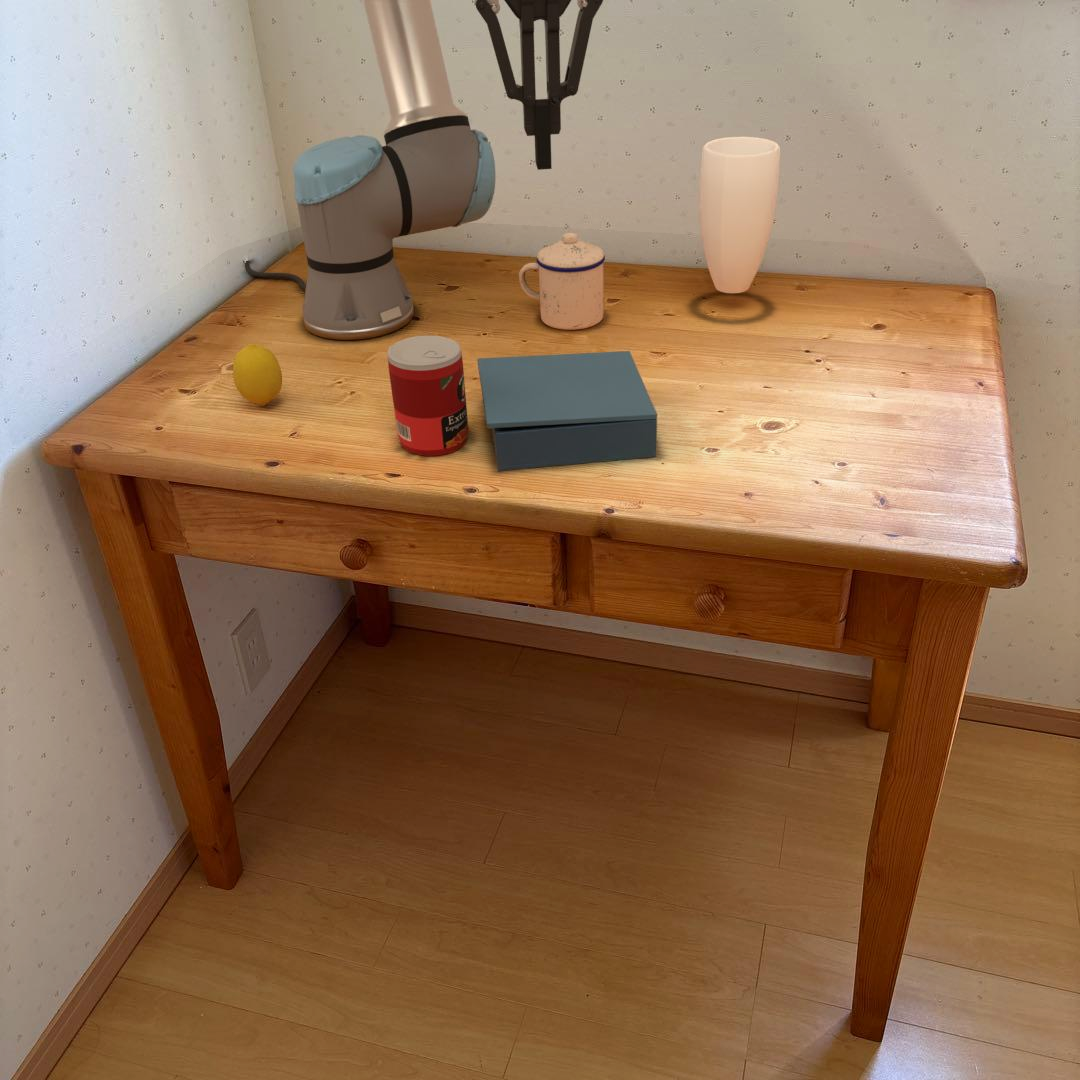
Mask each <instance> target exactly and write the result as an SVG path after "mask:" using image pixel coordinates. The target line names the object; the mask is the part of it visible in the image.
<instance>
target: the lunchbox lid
mask: <svg viewBox="0 0 1080 1080" xmlns="http://www.w3.org/2000/svg"><path fill="white" fill-rule="evenodd" d="M477 368H478V376H479V381H480V389H481V396H482V402H483V409H484V415H485V423H486V428H487V429H492V428H502V427H520V426H538V425H556V424H574V423H592V422H610V421H628V420H646V419H657V420H658V413H657V411H656V408H655V406H654V404H653V401H652V399H651V396H650V395H649V392H648V390H647V388H646V385H645V383H644V381H643V378H642V376H641V374H640V371H639V369H638V366H637V365H636V363H635V360H634V358H633V355H632V354H631V351H630V350H622V351H621V350H620V351H618V350H617V351H601V352H599V351H598V352H580V353H579V352H578V353H561V354H560V353H559V354H541V355H539V354H538V355H519V356H499V357H497V356H496V357H478V358H477Z"/></svg>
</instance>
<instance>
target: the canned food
mask: <svg viewBox="0 0 1080 1080" xmlns="http://www.w3.org/2000/svg"><path fill="white" fill-rule="evenodd" d="M387 364H388V365H387V367H388V374H389V383H390V388H391V397H392V403H393V411H394V418H395V419H394V420H395V426H396V432H397V433H396V434H397V439H398V441H399V442H400V445H401V447H402V448H403V449H404V450H405V451H407V452H409V453H411V454H414V455H418V456H424V457H436V456H437V457H438V456H444V455H448V454H451V453H454V452H455V451H458V450H459V449H461V448H462V447H463V446H464V445H465V444H466V442H467V440H468V436H469V423H468V421H469V420H468V409H467V399H466V398H467V397H466V384H465V374H464V373H465V372H464V360H463V351H462V347H461V345H460V344H459V343H458V341H456V340H454V339H452V338H449V337H447V336H441V335H431V334H428V335H418V336H417V335H415V336H410V337H407V338H404V339H401V340H399V341H396V342H394V343H393V344H392V345H390V346H389V347H388V348H387Z"/></svg>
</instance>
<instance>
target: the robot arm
mask: <svg viewBox="0 0 1080 1080" xmlns="http://www.w3.org/2000/svg"><path fill="white" fill-rule="evenodd" d="M503 1H504V2H505V3H506V5H507V6H508V8H509V9H510V10H511V12H512V14H513V15H514V16H515V17H516V18H517V19H518V21H519V22H518V23H519V35H520V36H519V38H520V39H519V41H520V42H519V43H520V44H519V45H520V67H521V68H520V69H521V70H520V71H521V72H520V73H521V84H517V81H516V78H515V75H514V71H513V69H512V64H511V60H510V57H509V53H508V49H507V46H506V42H505V38H504V35H503V32H502V31H503V30H502V27H501V24H500V20H499V18H498V15H497V14H499V12H500V10H501V5H500V3H499V2H500V0H474V5H475V8H476V10H477V12H478V13H479V15H480V16H481V18H482V19H483V21H484V22H485V24H486V25H487V29H488V33H489V35H490V36H489V38H490V40H491V44H492V48H493V51H494V54H495V58H496V62H497V65H498V69H499V72H500V76H501V80H502V83H503V86H504V91H505V94H506V96H507V98H508V99H509V100H515V101H518V102H521V104H522V111H523V113H522V114H523V129H524V132H525V135H526V136H527V137H534V160H535V165H536V168H537V170H538V171H541V170H552V135H560V133H561V131H562V119H561V118H562V117H561V116H562V115H561V114H562V113H561V111H562V110H561V104H562V102H563V100H565V99H566V98H568V97H570V96H571V97H574V96H575V95H577V93H578V91H579V88H580V87H579V86H580V83H581V78H582V77H581V76H582V73H583V68H584V63H585V58H586V54H587V49H588V46H589V45H588V44H589V40H590V36H591V30H592V26H593V21H594V19H595V16H596V14H598V11H599V9H600V8H601V6H602V4H603V2H604V0H576V5H577V7H578V8H579V10H578V14H577V17H576V22H575V27H574V31H573V37H572V42H571V47H570V50H569V51H570V52H569V57H568V62H567V66H566V71H565V75H564V81H562V82H561V48H560V47H561V46H560V45H561V43H560V42H561V41H560V30H561V28H560V27H561V25H560V23H561V21H560V18H562V16H563V15H564V13H565V12H566V10H567V9H568V7H569V6H570V4H571V2H572V0H503ZM362 2H363V3H362V4H363V6H364V7H363V8H364V11H365V15H366V19H367V24H368V27H369V31H370V35H371V40H372V44H373V48H374V52H375V56H376V61H377V65H378V69H379V73H380V78H381V82H382V87H383V91H384V94H385V99H386V103H387V106H388V110H389V114H390V120H389V122H388V124H387V126H386V128H385V129H384V131H383V138H384V142H385V145H384V146H382V144H381V142H380V141H379V140H378V139H377V137H374V136H371V135H354V136H351V137H350V136H343V137H337V138H334V139H329V140H325V141H324V142H320V143H318V144H315V145H314V146H311V147H309V148H308V149H306V150H304V151H303V152H302V153H300V154H299V156H297V158H296V160H295V161H294V163H293V167H292V175H293V186H294V200H295V202H296V203H297V211H298V216H299V221H300V227H301V233H302V240H303V245H304V250H305V255H306V260H307V268H308V271H307V272H308V273H307V279H306V283H305V282H304V281H303V279H302V278H301V277H300V276H298V275H296V274H293V273H287V272H263V271H262V272H261V271H256V270H254V269H252V268H251V265H250V260H249V261H246V263H245V266H244V269H245V271H246V272H247V273H248V274H249V275H250V276H252V277H256V278H263V279H264V278H265V279H288V280H292V281H294V282H296V283H297V284H298V285H299V287H300V289H302V290H303V291H304V302H303V305H302V316H303V317H302V318H303V324H304V327H305V329H306V330H307V331H308V332H309V333H311V334H313V335H315V336H318V337H321V338H324V339H330V340H338V341H339V340H340V341H353V340H354V341H355V340H365V339H371V338H377V337H381V336H384V335H388V334H390V333H394V332H395V331H398V330H400V329H402V328H403V327H405V326H407V325H408V324H409V323H410V322H411V321H412V320H413V318H414V316H415V309H414V302H413V298H412V296H411V292H410V291H409V288H408V287H407V284H406V281H405V280H404V278H403V276H402V274H401V272H400V269H399V267H398V265H397V263H396V259H395V255H394V246H393V245H394V243H393V239H396V238H400V237H406V236H411V235H415V234H416V235H417V234H421V233H426V232H431V231H435V230H440V229H446V228H451V227H452V228H458V227H459V226H461V225H464V224H468V223H473V222H475V221H479V220H481V219H482V218H483V217H484V216H485V215H486V214H487V213H488V211H489V210H490V208H491V206H492V203H493V199H494V195H495V189H496V177H497V176H496V162H495V156H494V151H493V148H492V145H491V143H490V142H489V141H488V137H487V135H486V134H485V133H484V132H483V131H481V130H478V129H471V125H470V124H471V123H470V121H469V116H468V114H467V113H466V112H464V111H463V110H462V109H460V108H459V107H457V106H456V105H455V103H454V100H453V95H452V92H451V87H450V82H449V78H448V74H447V68H446V64H445V60H444V55H443V51H442V47H441V43H440V38H439V34H438V30H437V25H436V20H435V17H434V13H433V12H434V11H433V8H432V7H433V6H432V3H431V0H362ZM539 20H542V21H544V23H543V24H544V41H545V42H544V44H545V72H546V73H545V74H546V78H545V79H546V95H547V98H539V99H538V98H537V96H536V95H537V94H536V91H537V90H536V64H535V63H536V62H535V61H536V60H535V59H536V58H535V22H536V21H539ZM242 262H243V263H244V261H243V260H242Z"/></svg>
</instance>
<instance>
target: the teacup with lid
mask: <svg viewBox="0 0 1080 1080" xmlns="http://www.w3.org/2000/svg"><path fill="white" fill-rule="evenodd" d="M605 255H606V254H605V253H604V251H603V250H602V248H601V247H599V246H598V245H595V244H592V243H589V242H585V241H584V240H581V239H579V237H578V234H577V233H575V232H566V233H564V234H563V235H562V240H561V239H560V240H559V241H557V242H555V243H554V244H553V243H552V244H550V245H547V246H545V247H543V248H541V250H540V251H539V252H538V253H537V257H536V262H528V263H526V264H524V265H523V266H522V267H521V268H520V270H519V271H518V281H519V286H520V287H521V290H522V291H523V293H524V294H525V295H526V296H528V297H529V298H531V299H533V300H536V301H537V300H538V301H539V304H540V305H539V306H540V307H539V309H540V319H541V321H542V322H543V323H544V325H547V326H548V327H550V328H554V329H558V330H565V331H576V330H577V331H578V330H583V329H584V330H585V329H587V328H591V327H594V326H595V325H597V324H599V323H600V322H601V321H602V320H603V318H604V316H605V315H604V314H605V313H604V311H605V310H604V309H605V308H604V307H605V303H604V302H605V301H604V262H605V260H606V256H605ZM529 270H534V271H536V270H537V271H538V283H539V284H538V285H539V292H538V291H535V290H533V289H532V288H531V287H530V286H529V284H528V282H527V278H526V272H527V271H529Z"/></svg>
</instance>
